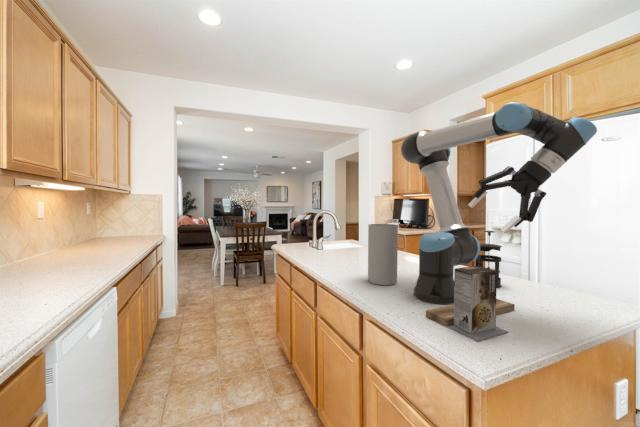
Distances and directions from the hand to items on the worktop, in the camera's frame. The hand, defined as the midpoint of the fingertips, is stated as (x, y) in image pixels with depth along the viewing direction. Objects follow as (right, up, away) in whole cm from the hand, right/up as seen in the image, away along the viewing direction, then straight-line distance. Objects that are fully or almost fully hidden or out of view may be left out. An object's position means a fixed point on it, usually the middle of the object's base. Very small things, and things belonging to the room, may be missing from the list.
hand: (486, 219), depth 94 cm
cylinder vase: (-27, -28, +33) cm, 51 cm away
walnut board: (-7, -29, -4) cm, 30 cm away
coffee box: (-11, -30, -14) cm, 35 cm away
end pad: (-11, -30, -15) cm, 35 cm away
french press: (+17, -29, +29) cm, 44 cm away
